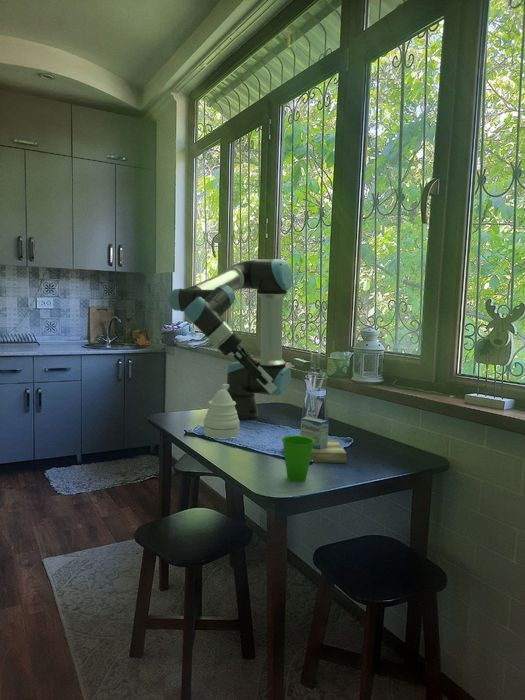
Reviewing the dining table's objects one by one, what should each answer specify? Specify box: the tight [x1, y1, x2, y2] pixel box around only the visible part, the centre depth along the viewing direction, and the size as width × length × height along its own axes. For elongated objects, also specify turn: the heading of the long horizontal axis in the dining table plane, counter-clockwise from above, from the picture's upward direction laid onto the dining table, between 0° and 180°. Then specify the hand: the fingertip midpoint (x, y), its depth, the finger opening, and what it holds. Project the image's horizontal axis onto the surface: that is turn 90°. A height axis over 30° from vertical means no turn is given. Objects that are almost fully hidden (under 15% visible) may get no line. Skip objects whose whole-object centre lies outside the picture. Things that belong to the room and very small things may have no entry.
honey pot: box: [203, 383, 241, 438], centre depth 176 cm, size 13×13×18 cm
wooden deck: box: [282, 439, 347, 464], centre depth 157 cm, size 14×18×3 cm
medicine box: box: [299, 416, 330, 449], centre depth 156 cm, size 8×4×9 cm, turn 51°
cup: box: [281, 434, 315, 483], centre depth 135 cm, size 9×9×11 cm
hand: (271, 386), depth 157 cm, fingers open, 13 cm apart
